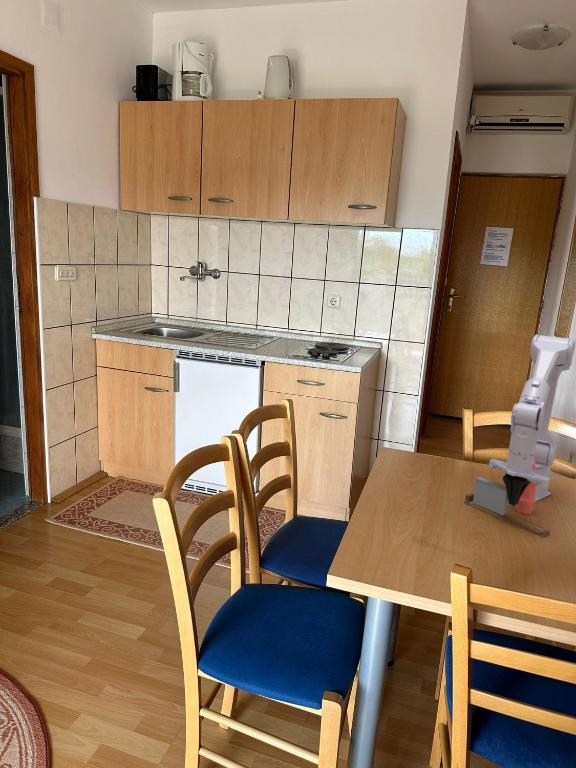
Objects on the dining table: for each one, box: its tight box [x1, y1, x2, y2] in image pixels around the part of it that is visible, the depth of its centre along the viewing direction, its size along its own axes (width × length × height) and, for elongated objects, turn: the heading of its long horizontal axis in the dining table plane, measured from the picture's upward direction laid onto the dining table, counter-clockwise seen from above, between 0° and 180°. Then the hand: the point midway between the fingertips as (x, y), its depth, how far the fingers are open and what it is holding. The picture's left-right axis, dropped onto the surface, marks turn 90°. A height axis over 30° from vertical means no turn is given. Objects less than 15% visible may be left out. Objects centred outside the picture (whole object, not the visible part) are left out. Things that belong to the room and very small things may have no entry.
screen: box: [473, 476, 509, 515], centre depth 138 cm, size 2×9×7 cm, turn 38°
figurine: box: [515, 456, 539, 515], centre depth 139 cm, size 5×5×15 cm
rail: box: [464, 491, 551, 539], centre depth 135 cm, size 3×21×2 cm, turn 38°
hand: (513, 504), depth 134 cm, fingers closed
